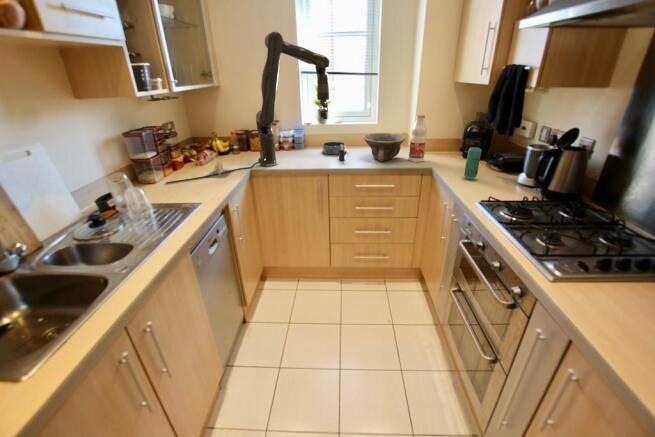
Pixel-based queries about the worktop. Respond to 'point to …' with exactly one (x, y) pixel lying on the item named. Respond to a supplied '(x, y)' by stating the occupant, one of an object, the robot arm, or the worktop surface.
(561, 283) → the worktop surface
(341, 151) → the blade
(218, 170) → the architectural model
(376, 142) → the bowl
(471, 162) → the beverage bottle
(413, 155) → the fruit juice
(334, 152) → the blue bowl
